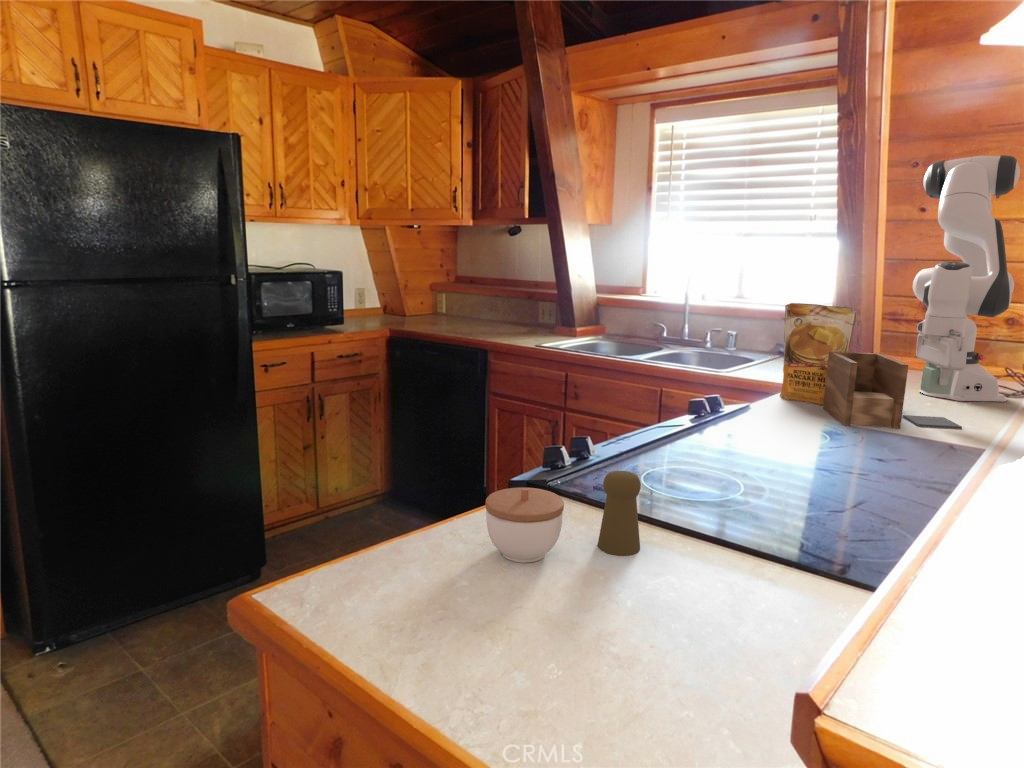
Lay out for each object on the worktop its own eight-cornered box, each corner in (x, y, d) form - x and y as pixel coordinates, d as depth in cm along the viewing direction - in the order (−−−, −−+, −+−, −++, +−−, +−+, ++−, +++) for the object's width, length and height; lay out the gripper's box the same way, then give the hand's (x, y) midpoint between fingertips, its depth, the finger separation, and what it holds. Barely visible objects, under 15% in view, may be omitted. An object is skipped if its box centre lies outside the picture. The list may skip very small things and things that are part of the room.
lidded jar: (537, 532, 101) (539, 472, 100) (577, 561, 92) (579, 495, 90) (472, 545, 96) (472, 482, 95) (507, 577, 87) (508, 508, 85)
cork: (622, 535, 101) (626, 464, 99) (649, 550, 96) (653, 476, 94) (589, 542, 98) (592, 469, 96) (614, 559, 93) (618, 482, 91)
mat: (943, 419, 178) (944, 417, 178) (961, 429, 168) (961, 426, 168) (902, 417, 179) (902, 415, 179) (917, 426, 170) (918, 424, 170)
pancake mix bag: (781, 394, 206) (790, 302, 201) (847, 405, 193) (858, 306, 188) (771, 397, 202) (780, 303, 196) (838, 408, 188) (849, 307, 183)
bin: (873, 411, 186) (880, 353, 183) (900, 429, 167) (908, 364, 164) (822, 408, 188) (829, 351, 185) (843, 425, 169) (851, 362, 166)
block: (941, 390, 174) (944, 367, 173) (950, 394, 169) (953, 370, 168) (920, 389, 175) (923, 366, 174) (928, 393, 170) (931, 369, 169)
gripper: (978, 333, 158) (969, 391, 161) (940, 324, 178) (933, 376, 181) (949, 331, 160) (940, 389, 162) (914, 323, 179) (907, 375, 182)
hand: (936, 382), depth 172 cm, fingers closed on block, 5 cm apart
